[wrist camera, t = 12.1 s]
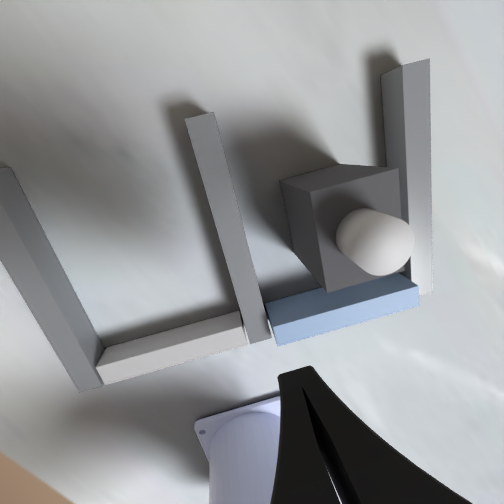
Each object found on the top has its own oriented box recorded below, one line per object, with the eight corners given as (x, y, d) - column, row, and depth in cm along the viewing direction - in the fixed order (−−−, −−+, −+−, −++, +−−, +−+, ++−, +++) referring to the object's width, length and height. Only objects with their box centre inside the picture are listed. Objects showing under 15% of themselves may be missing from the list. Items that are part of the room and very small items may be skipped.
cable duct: (413, 279, 21) (444, 298, 18) (92, 370, 20) (72, 405, 17) (404, 69, 16) (444, 51, 14) (-18, 174, 15) (-69, 178, 13)
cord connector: (349, 237, 20) (434, 288, 12) (294, 252, 19) (345, 314, 12) (339, 164, 18) (432, 170, 10) (279, 180, 18) (328, 199, 10)
